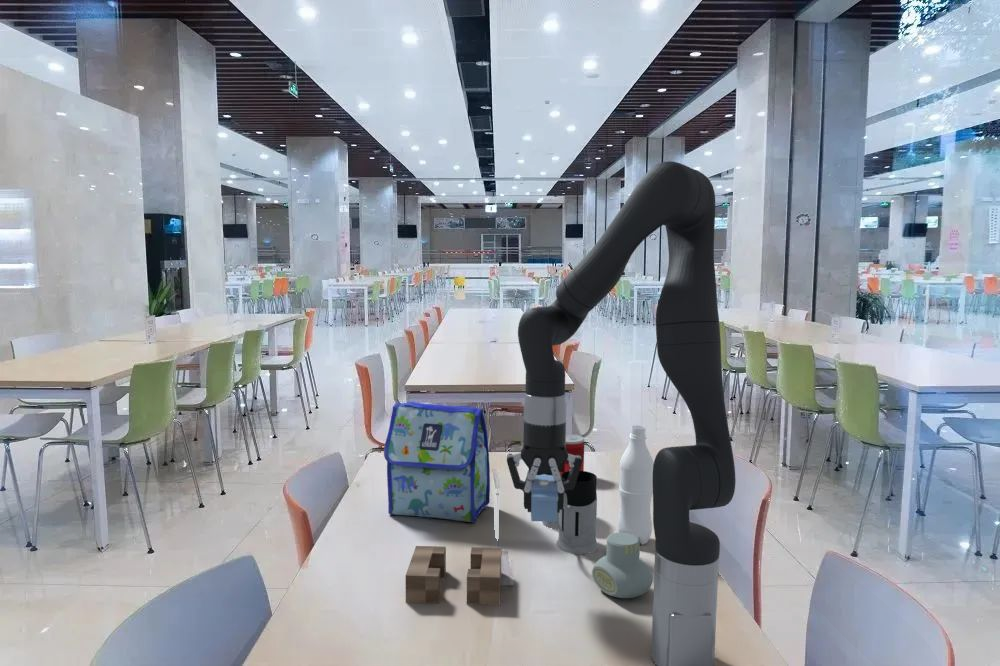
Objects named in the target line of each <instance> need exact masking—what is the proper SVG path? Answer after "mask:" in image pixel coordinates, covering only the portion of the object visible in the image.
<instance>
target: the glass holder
mask: <svg viewBox="0 0 1000 666" xmlns="http://www.w3.org/2000/svg"><path fill="white" fill-rule="evenodd" d="M569 473H570V471H567V472H564V473H562V474H561V479H562V482H565V481H567V479H568V476H569ZM597 477H598V476H597V475H596V474H594V473H593V472H590V471H585V470H584V471H579V475H578V478H577V481H576V484H575V487H574V489H573V490H567V491H565V492H564V507H563V509H562V510H560V513H559V521H558V515H557V522H555V523H556V527H557V529H556V530H557V531H558V539H557V540H556V546H557V548H559V549H560V550H561V551H563V552H566V553H569V554H575V555H576V554H577V555H582V554H590V553H593V552H595V551H596V550H597V549H598V548H599V543H598V542H597V515H598V513H597V512H598V511H597V510H598V507H597V506H598V495H597V481H598V480H597Z"/></svg>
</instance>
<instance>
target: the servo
mask: <svg viewBox="0 0 1000 666" xmlns="http://www.w3.org/2000/svg"><path fill="white" fill-rule="evenodd" d="M557 501H558V488H557V483H555V481H554V478H553V475H546V474H543V475H536V477H535V480H534V482H533V483H531V512H530V518H531V519H530V520H531V522H542V521H555V522H557Z"/></svg>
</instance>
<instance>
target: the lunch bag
mask: <svg viewBox="0 0 1000 666" xmlns="http://www.w3.org/2000/svg"><path fill="white" fill-rule="evenodd" d="M487 431H488V430H487V425H486V418H485V415H484V409H483V408H481V407H480V408H479V407H476V406H475V407H474V406H468V405H465V406H464V405H463V406H461V405H460V406H458V405H457V406H455V405H444V404H433V403H432V404H431V403H421V402H415V401H407V402H402V403H399V402H396V403H395V404H394V405H392V411H391V415H390V421H389V428H388V431H387V436H386V439H385V442H384V448H383V457H384V459H385V460H386V477H387V479H386V481H387V483H386V484H387V498H388V500H387V502H388V515H395V516H409V517H411V516H414V517H416V516H417V517H421V518H435V519H444V520H453V521H457V522H458V521H459V522H467V523H468V522H469V523H470V522H471V523H476V521H477V518H478V516H479V514H480V513H481V512H482V511H483V509H484V508H486V507H487V506H489V503H490V501H491V500H490V495H491V494H490V493H491V492H490V491H491V480H490V479H491V478H490V475H491V474H490V473H491V472H490V471H491V470H490V469H491V468H490V457H489V456H490V452H489V451H490V450H489V441H488V440H489V439H488V432H487Z"/></svg>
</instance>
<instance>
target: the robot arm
mask: <svg viewBox="0 0 1000 666" xmlns="http://www.w3.org/2000/svg"><path fill="white" fill-rule="evenodd" d="M715 219H716V194H715V188H714V185H713V184H712V181H711V180H710V179H709V178H708V177H707V176H706V174H704V173H703V172H701V171H699V170H697V169H694V168H692V167H689V166H687V165H686V164H683V163H681V162H678V161H677V162H676V161H674V160H673V161H672V160H670V161H668V160H667V161H663V162H660V163H657V164H656V165H654V166H653V167H651V168H650V169H649V170H647V172H646V173H645V174H644V175H643V176H642V178H641V179H640V180H639V182H638V183H637V184H636V186H635V187H634V189H633V190H632V192H631V193H630V195H629V196H628V197H627V200H626V201H625V202H624V204H623V205H622V207H621V208H620V209H619V211H618V213H617V214H616V215H615V216H614V218H613V220H612V221H611V222H610V223H609V226H607V228H606V230H605V231H604V232H603V233H602V235H601V236H600V238H599V239H598V240H597V242H596V243H595V245H594V246H593V247H592V248H591V249H590V251H588V253H586V254H585V256H584V257H583V258H582V259H581V260H580V262H578V264H577V265H575V267H574V268H573V269H572V270H571V271H570V272H569V273H568V274H567V275H566V276H565V277H564V278H563V279H562V281H561V282H560V283H559V284H558V286H557V288H556V291H555V297H556V299H555V301H553V303H551V304H550V305H548V306H541V307H539V306H538V307H532V308H529V309H527V310H526V311H525V312H523V314H522V315H521V317H520V320H519V322H518V326H517V337H518V338H517V339H518V345H519V349H520V353H521V357H522V358H521V359H522V361H523V364H524V368H525V369H524V370H525V393H524V394H525V395H524V396H525V397H524V403H523V446H522V449H521V451H520V452H519V453H515V454H512V453H508V454H507V455H506V464H507V467H508V471H509V474H510V477H511V481H512V485H513V487H514V489H516V490H521V491H522V492H523V507H524V510H527V513H531V483H533V482H534V480H535V477H536V475H543V474H546V475H553V478H554V481H555V483H557V488H558V501H557V513H560V510H562V509H563V507H564V492H565V491H567V490H573V489H574V487H575V484H576V481H577V478H578V475H579V471H580V468H581V465H582V458H581V456H580V455H576V456H575V455H572V454H568V452H567V450H566V435H567V430H566V429H567V428H566V427H567V401H566V368H565V365H564V363H562V362H561V361H559V360H556V359H555V354H554V349H553V347H554V346H559V345H562V344H564V343H565V342H567V341H568V340H569V339H571V338H572V337H573V336H574V335H575V334H576V333H577V331H578V330H579V329H580V327H581V326H582V324H583V322H584V321H585V320H586V318H587V316H588V315H589V313H590V312H591V311H592V310H593V309H594V308H595V307H597V305H598V304H599V303H601V301H602V300H603V299H604V298H605V297H607V295H608V294H610V292H612V290H613V289H614V288H615V287H616V286H617V284H618V282H619V281H620V280H621V278H622V276H623V274H624V271H625V270H626V268H627V264H628V263H629V261H630V259H631V257H632V255H634V252H635V251H636V250H637V248H639V246H640V244H642V242H643V241H644V240H645V239H646V238H648V237H649V236H650V235H652V234H653V233H654V232H655V231H657V230H658V229H659V228H661V227H663V226H665V230H666V231H665V232H666V238H667V248H668V267H667V271H666V276H665V279H664V283H663V286H662V288H661V292H660V294H659V298H658V302H657V305H656V306H657V307H656V311H655V332H656V335H655V336H656V349H657V351H656V352H657V356H658V360H659V363H660V365H661V367H662V370H663V371H664V372H665V375H666V376H667V377H668V379H669V380H670V382H671V383H672V385H673V386H674V387H675V389H676V390H677V392H678V394H679V395H680V396H681V398H682V399H683V401H684V403H685V404H686V406H687V408H688V410H689V413H690V416H691V419H692V423H693V428H694V434H695V435H694V436H695V444H694V445H679V446H669V447H668V446H667V447H664V448H662V449H660V450H659V451H658V452H657V454H656V455H655V458H654V460H653V462H654V465H653V494H652V527H653V532H654V540H655V543H654V544H655V545H654V547H655V548H654V549H655V550H654V566H653V567H654V568H653V569H654V570H653V598H652V621H651V622H652V623H651V654H652V655H651V656H652V657H651V659H652V661H653V662H655V663H656V664H657V665H658V666H715V652H716V630H717V629H716V628H717V608H718V589H719V588H718V586H719V585H718V584H719V570H720V569H719V567H720V565H719V564H720V554H721V553H720V552H721V551H720V550H721V549H720V547H721V543H720V538H719V537H718V534H716V532H714V531H712V530H711V529H710V528H708V527H706V526H705V525H701V524H699V523H696V522H691V521H690V511H693V510H694V511H695V510H704V509H705V510H706V509H714V508H716V509H717V508H721V507H725V506H727V505H729V504H730V503H731V501H732V499H733V497H734V495H735V492H736V491H735V489H736V482H737V481H736V468H735V467H736V466H735V459H734V452H733V447H732V441H731V436H730V435H731V434H730V430H729V429H730V428H729V423H728V416H727V412H726V411H727V409H726V402H725V393H724V392H725V391H724V380H723V369H722V368H723V367H722V343H721V328H720V326H721V325H720V317H719V308H718V307H719V306H718V294H717V278H716V268H715V224H716V220H715ZM521 460H522V461H523V463H524V464H525V466H527V468H528V471H527V474H526V477H525V479H524V480H525V481H524V480H522V479H521V478H520V474H519V470H518V467H519V466H520V461H521ZM566 460H568V461H569V465H570V467H571V470H570V473H569V476H568V479H567V481H565V482H562V479H561V475H560V472H559V469H560V468H561V467H562V465H563V464H564V463H565V462H566ZM655 663H654V664H655ZM656 664H655V665H656ZM657 665H656V666H657Z"/></svg>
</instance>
